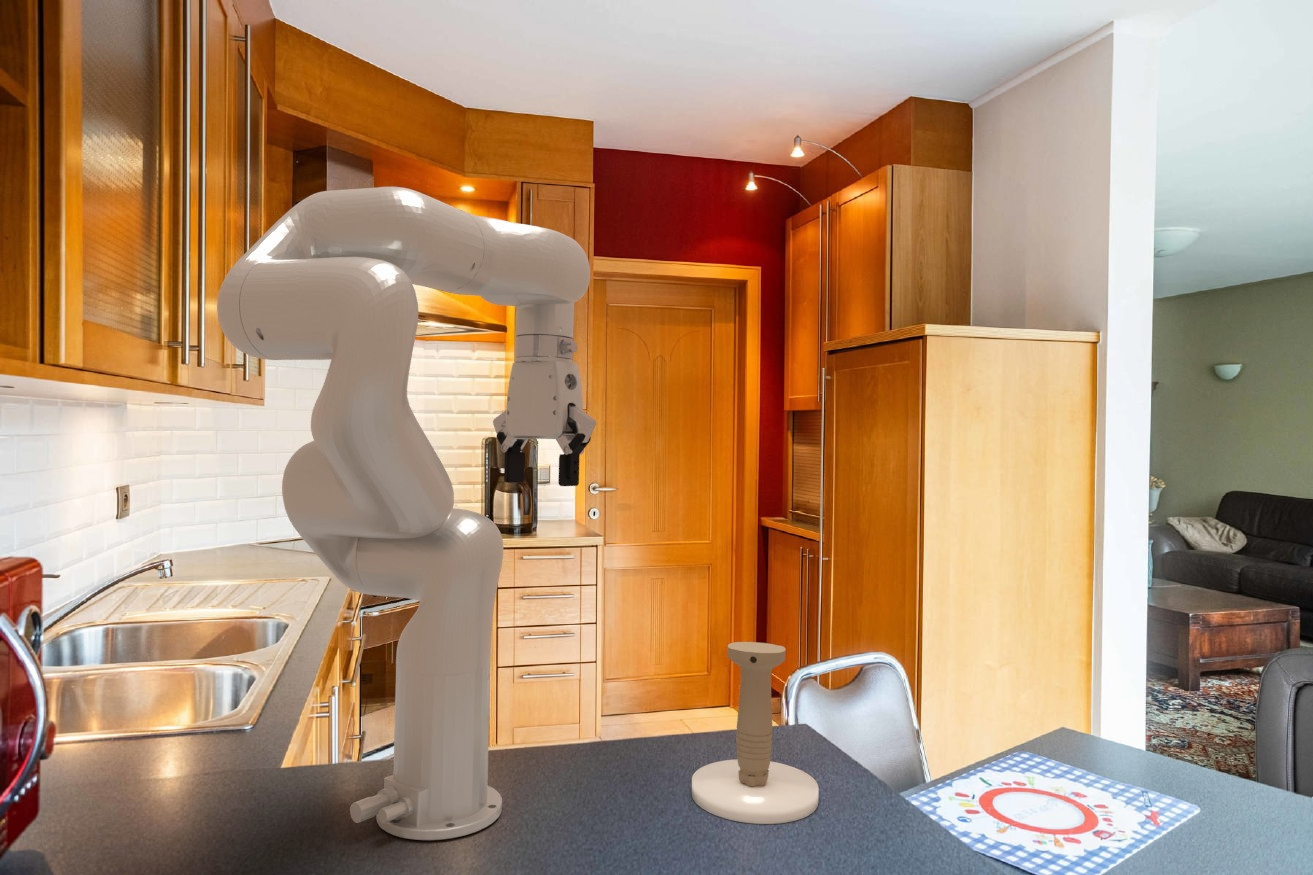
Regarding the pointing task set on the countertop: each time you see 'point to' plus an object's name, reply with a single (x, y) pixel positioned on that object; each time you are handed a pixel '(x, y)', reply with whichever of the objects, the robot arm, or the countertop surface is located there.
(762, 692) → the handle
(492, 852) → the countertop surface
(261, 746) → the countertop surface
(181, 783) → the countertop surface
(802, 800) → the plate
